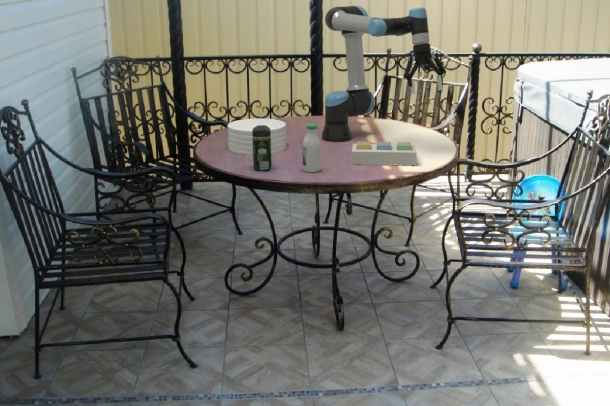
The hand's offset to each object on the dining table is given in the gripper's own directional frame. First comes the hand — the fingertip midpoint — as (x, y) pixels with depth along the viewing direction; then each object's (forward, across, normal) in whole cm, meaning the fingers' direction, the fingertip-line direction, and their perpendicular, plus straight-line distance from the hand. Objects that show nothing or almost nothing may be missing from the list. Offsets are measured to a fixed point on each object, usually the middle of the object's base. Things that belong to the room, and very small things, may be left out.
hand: (426, 92), depth 296 cm
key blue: (+24, -23, +3) cm, 33 cm away
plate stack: (+15, -70, +46) cm, 85 cm away
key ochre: (+22, -31, +7) cm, 39 cm away
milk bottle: (+26, -58, +1) cm, 64 cm away
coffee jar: (+23, -77, +11) cm, 81 cm away
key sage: (+25, -15, 0) cm, 29 cm away
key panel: (+28, -23, +4) cm, 36 cm away
